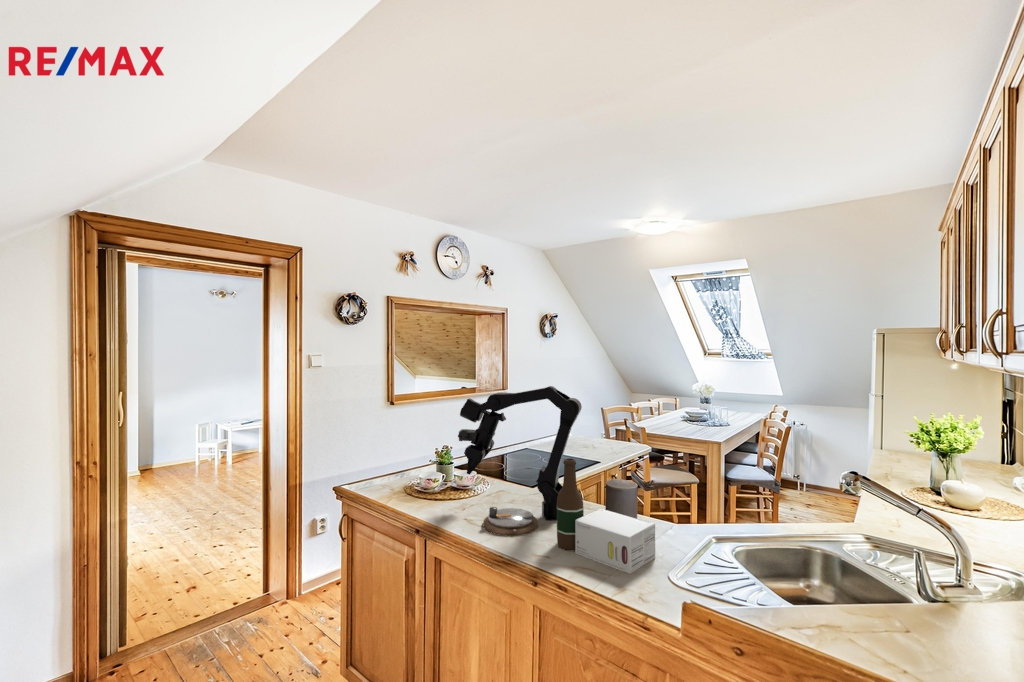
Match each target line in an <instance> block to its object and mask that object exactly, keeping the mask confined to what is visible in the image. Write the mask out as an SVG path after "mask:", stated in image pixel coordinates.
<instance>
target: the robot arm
mask: <svg viewBox="0 0 1024 682" xmlns="http://www.w3.org/2000/svg"><path fill="white" fill-rule="evenodd" d="M543 400H548V401H549V402H551V403H552V404H553V405H555V407H556V408H558V409H559V410H560V412H559V413H560V415H559V427H558V429H557V433H556V437H555V439H554V441H553V442H554V443H553V446H552V449H551V453H550V456H549V459H548V462H547V465H546V466H545V465H543V466H542V467H541V469H539V473H538V477H537V479H536V481H535V483H536V484H537V485H536V487H537V490H538V491H539V493H540V494H541V495H542V497H543V501H542V502H541V514H542V516H543V517H544V519H545V520H546V521H557V497H558V494H559V492H560V491H561V489H562V488H563V484H561V483H560V482H559V480H560V479H559V477H560V467H561V464H562V460H563V457H564V453H565V449H566V447H567V444H568V440H569V437H570V433H571V431H572V427H573V426H574V424H575V422H576V420H578V419H577V418H578V416H579V414H580V413H581V411H582V408H583V407H582V403H581V402H580V400H579V399H577V398H574V397H570V396H568V394H566V393H564V392H562V391H560V390H558V389H557V388H556V387H554V386H553V385H550V386H549V385H548V386H547V387H543V388H537V389H531V390H530V389H529V390H525V391H524V390H523V391H520V392H496V393H493V394H490V395H489V396H488V397H487V399H486V401H485V402H482V403H481V402H477V401H476V400H474V399H473V398H467V399H466V401H465V403H464V404H463V406H462V408H461V409H460V411H459V416H460V417H461V418H463V419H466V420H467V421H470V422H473V423H474V424H475V423H476V422H480V423H479V425H478V427H477V428H476V429H467V428H466V429H465V428H464V429H463V428H462V429H459V431H458V434H457V438H458V442H463V441H464V442H470V443H471V444H470V445H467V447H465V450H464V452H463V455H465V457H466V459H467V465H466V466H467V469H466V474H467V475H471V474H472V472H473V471H474V470H475V469H476V468H477V467H478V466H479V465H480V463H482V461H483V460H484V459H485V458H486V457H487V455H488V454H489V453H490V452H491V451H492V449H494V445H495V440H494V439H493V438H494V436H496V430H497V427H498V424H499V422H504V421H506V420H507V418H506V416H505V413H504V412H501V413H499V411H501V410H504V409H506V408H509V407H513V406H514V405H520V404H525V403H526V404H527V403H532V402H536V401H543ZM489 410H490V411H489Z"/></svg>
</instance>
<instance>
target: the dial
mask: <svg viewBox="0 0 1024 682" xmlns="http://www.w3.org/2000/svg"><path fill="white" fill-rule="evenodd" d="M533 516H534V514H533V513H532V512H531V511H529V510H526V509H523V508H514V507H509V508H507V507H506V508H499V509H498V507H496V506H491V507H489V514H488V515H487V517H488V522H489V523H490V524H491V525H493V526H495V527H499V528H506V529H515V528H522V527H526V526H529V525H530V524H532V523H533Z"/></svg>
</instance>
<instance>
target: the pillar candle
mask: <svg viewBox="0 0 1024 682" xmlns="http://www.w3.org/2000/svg"><path fill="white" fill-rule="evenodd" d="M638 486H639V485H638V483H636V482H634V481H632V480H627V479H622V478H620V479H617V478H616V479H615V478H614V479H609V480H607V481H606V482H605V493H604V495H605V501H604V502H605V510H608V511H611V512H615V513H618V514H622V515H625V516H629V517H633V518H636V519H638Z"/></svg>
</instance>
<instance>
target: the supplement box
mask: <svg viewBox="0 0 1024 682" xmlns="http://www.w3.org/2000/svg"><path fill="white" fill-rule="evenodd" d="M605 509H606V508H605ZM605 509H604V508H599V509H597V510H595V511H592V512H590V513H589V514H586V515H584V516H583V517H581V518H578V519H576V520H575V551H574V552H575V554H576V555H579V556H581V557H584V558H586V559H590V560H591V561H595V562H597V563H600V564H604V565H606V566H608V567H610V568H613V569H617V570H618V571H622V572H624V573H627V574H632V573H633V572H635V571H637V570H638V569H639V568H641V567H643V566H644V565H646V564H647V563H649V562H651V561H652V560H654V559H656V523H654V522H650V521H646V520H643V519H639V518H637V519H636V518H633V517H629V516H625V515H622V514H618V513H615V512H611V511H608V510H605Z"/></svg>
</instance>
